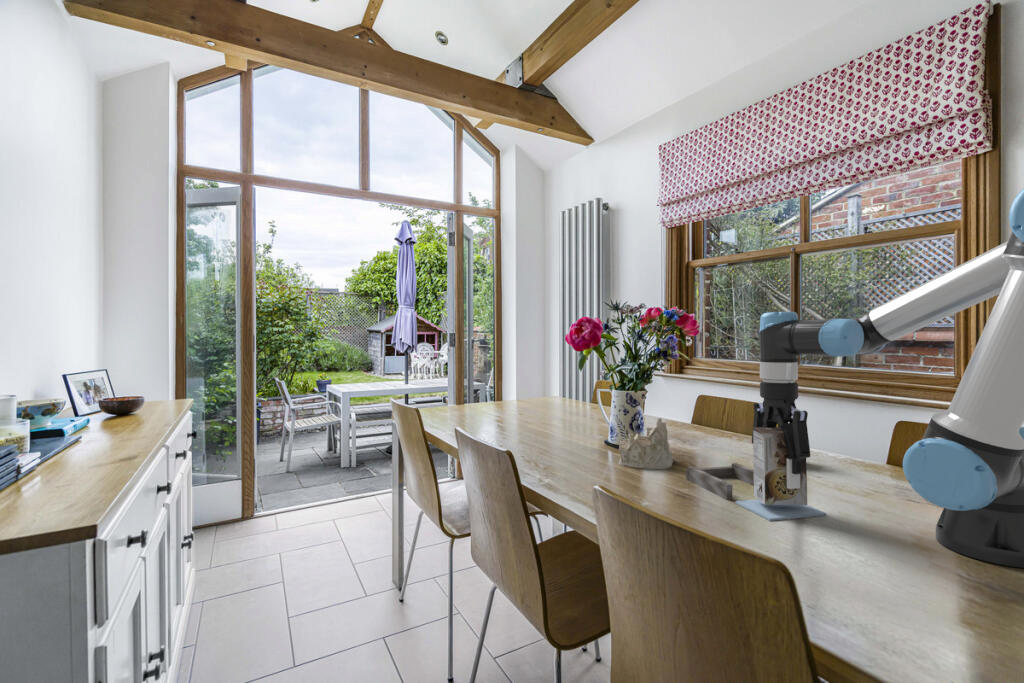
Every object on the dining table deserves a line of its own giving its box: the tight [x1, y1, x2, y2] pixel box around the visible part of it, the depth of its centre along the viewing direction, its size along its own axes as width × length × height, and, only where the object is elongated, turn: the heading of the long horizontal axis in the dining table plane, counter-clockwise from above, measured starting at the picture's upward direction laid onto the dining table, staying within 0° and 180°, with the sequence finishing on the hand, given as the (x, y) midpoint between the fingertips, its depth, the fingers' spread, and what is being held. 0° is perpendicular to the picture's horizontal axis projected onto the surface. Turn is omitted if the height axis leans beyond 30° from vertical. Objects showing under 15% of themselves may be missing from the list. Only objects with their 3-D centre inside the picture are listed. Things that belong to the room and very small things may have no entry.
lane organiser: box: [685, 462, 754, 501], centre depth 125 cm, size 18×15×4 cm
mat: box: [735, 498, 827, 522], centre depth 108 cm, size 11×14×1 cm
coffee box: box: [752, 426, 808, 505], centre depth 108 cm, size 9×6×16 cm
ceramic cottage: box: [618, 417, 674, 470], centre depth 150 cm, size 16×16×15 cm
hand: (779, 482), depth 108 cm, fingers closed on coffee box, 7 cm apart
